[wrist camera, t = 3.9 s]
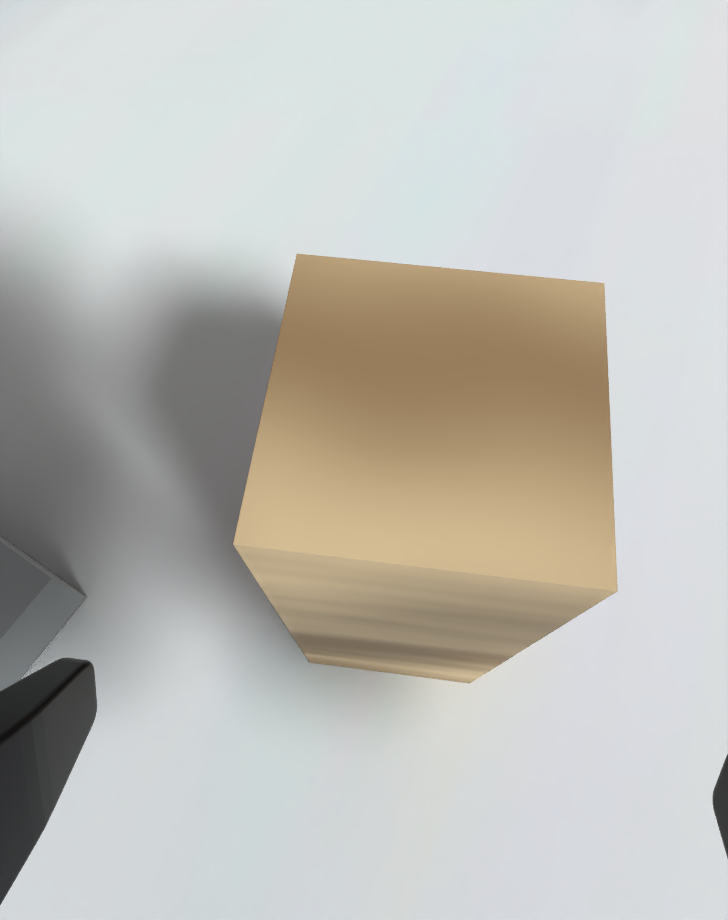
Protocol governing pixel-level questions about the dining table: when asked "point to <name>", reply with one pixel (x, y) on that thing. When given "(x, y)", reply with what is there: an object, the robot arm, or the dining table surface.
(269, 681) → the dining table surface
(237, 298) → the dining table surface
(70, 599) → the base tile
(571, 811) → the dining table surface
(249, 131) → the dining table surface
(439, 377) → the oak post
